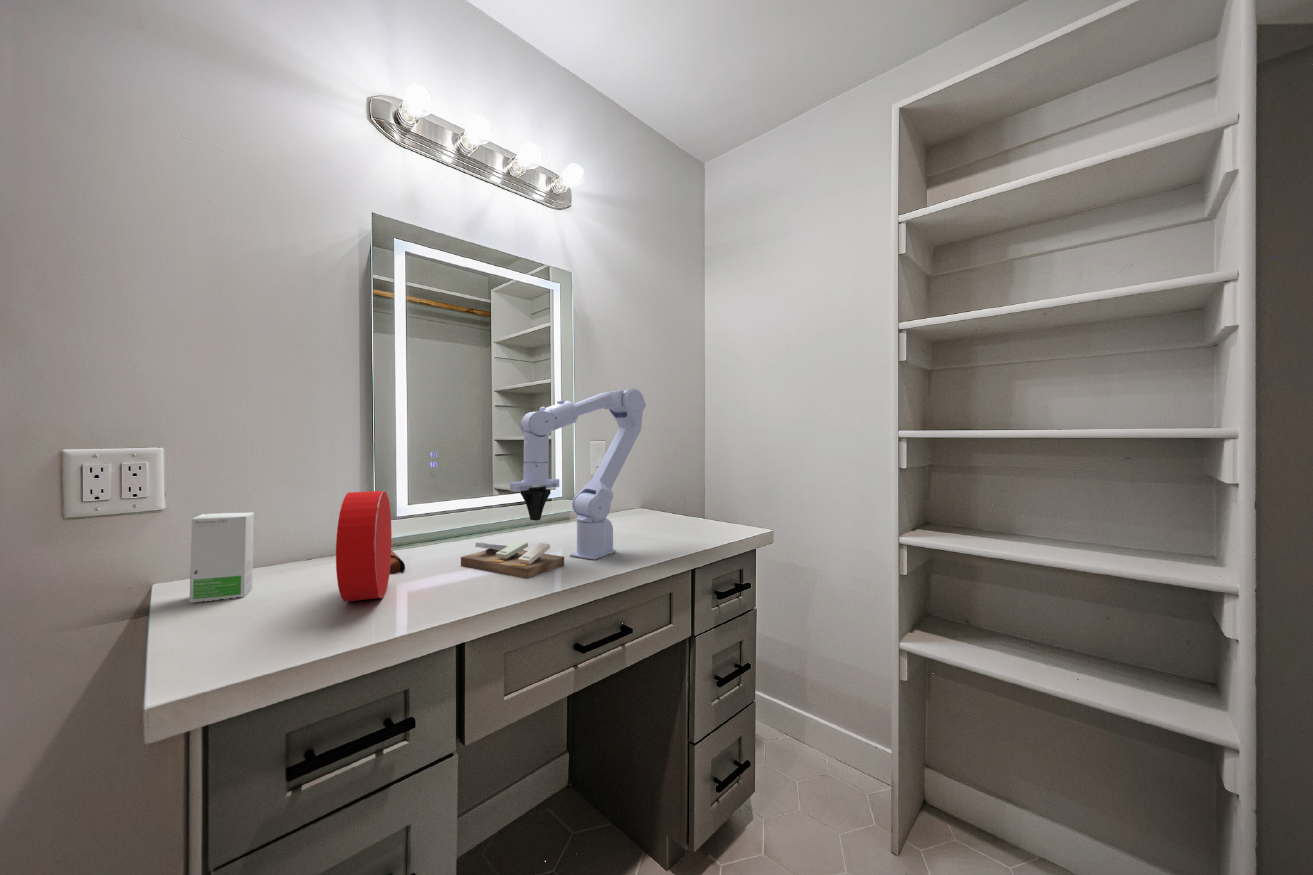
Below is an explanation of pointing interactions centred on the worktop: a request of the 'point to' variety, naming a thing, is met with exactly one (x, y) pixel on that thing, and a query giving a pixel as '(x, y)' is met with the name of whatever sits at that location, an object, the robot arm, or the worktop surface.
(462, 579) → the worktop surface
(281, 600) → the worktop surface
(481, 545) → the bluegrey rocker
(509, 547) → the sage rocker
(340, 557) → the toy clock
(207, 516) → the skincare box
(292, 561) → the worktop surface
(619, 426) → the robot arm
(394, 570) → the sunglasses case
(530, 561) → the cream rocker
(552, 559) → the switch panel
